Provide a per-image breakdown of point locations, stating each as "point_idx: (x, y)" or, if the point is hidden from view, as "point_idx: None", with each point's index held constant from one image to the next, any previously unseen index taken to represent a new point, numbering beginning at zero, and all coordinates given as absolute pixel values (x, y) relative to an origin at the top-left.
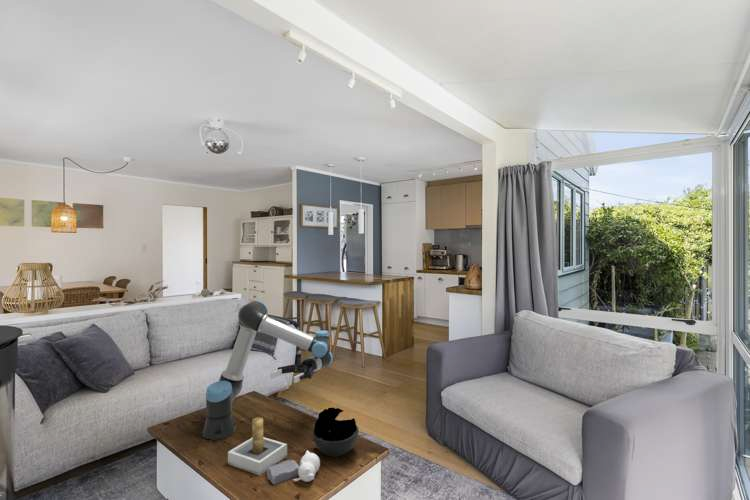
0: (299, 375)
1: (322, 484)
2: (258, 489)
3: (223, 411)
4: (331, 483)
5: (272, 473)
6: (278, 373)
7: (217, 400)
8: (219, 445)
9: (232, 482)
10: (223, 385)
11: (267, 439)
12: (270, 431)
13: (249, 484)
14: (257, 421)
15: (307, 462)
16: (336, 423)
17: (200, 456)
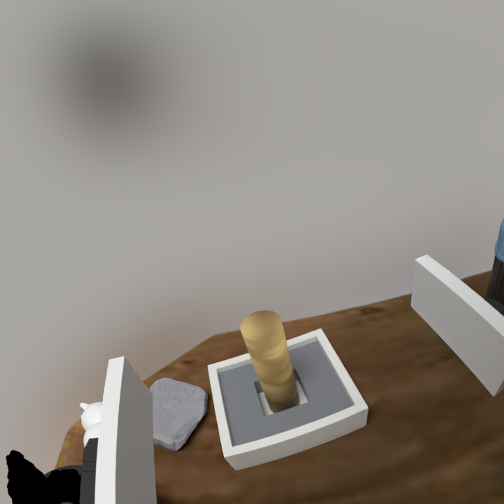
0: (102, 427)
1: (83, 441)
2: (181, 365)
3: (493, 297)
4: (70, 451)
5: (164, 378)
6: (468, 339)
7: (496, 248)
8: (430, 345)
9: (244, 341)
10: None
11: (308, 426)
12: (437, 484)
13: (210, 360)
14: (247, 320)
15: (92, 414)
16: (6, 459)
17: (397, 311)
